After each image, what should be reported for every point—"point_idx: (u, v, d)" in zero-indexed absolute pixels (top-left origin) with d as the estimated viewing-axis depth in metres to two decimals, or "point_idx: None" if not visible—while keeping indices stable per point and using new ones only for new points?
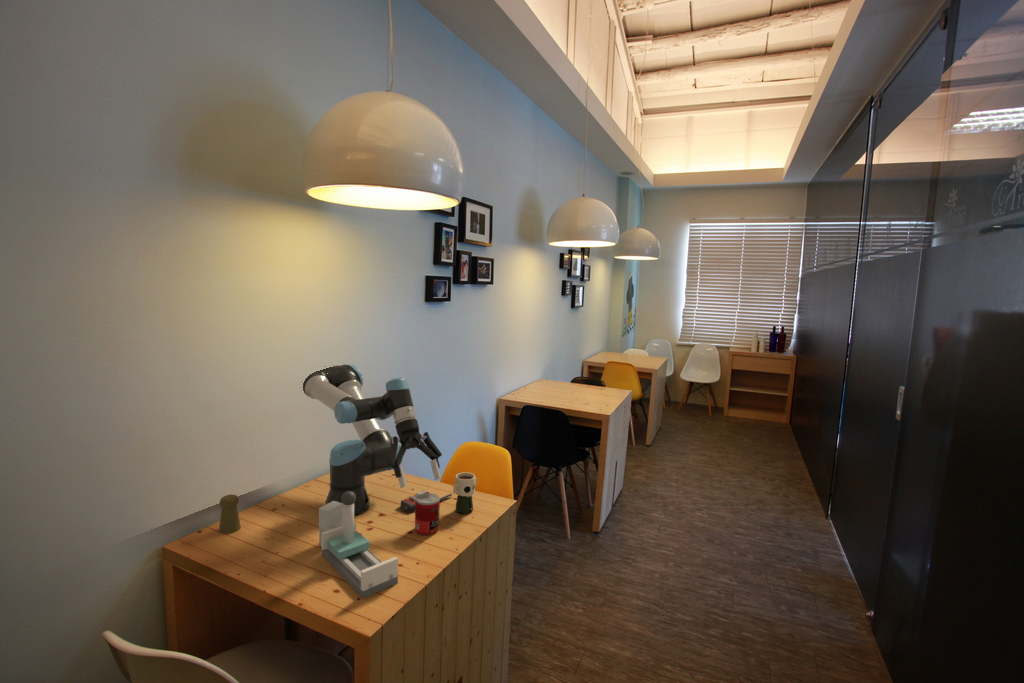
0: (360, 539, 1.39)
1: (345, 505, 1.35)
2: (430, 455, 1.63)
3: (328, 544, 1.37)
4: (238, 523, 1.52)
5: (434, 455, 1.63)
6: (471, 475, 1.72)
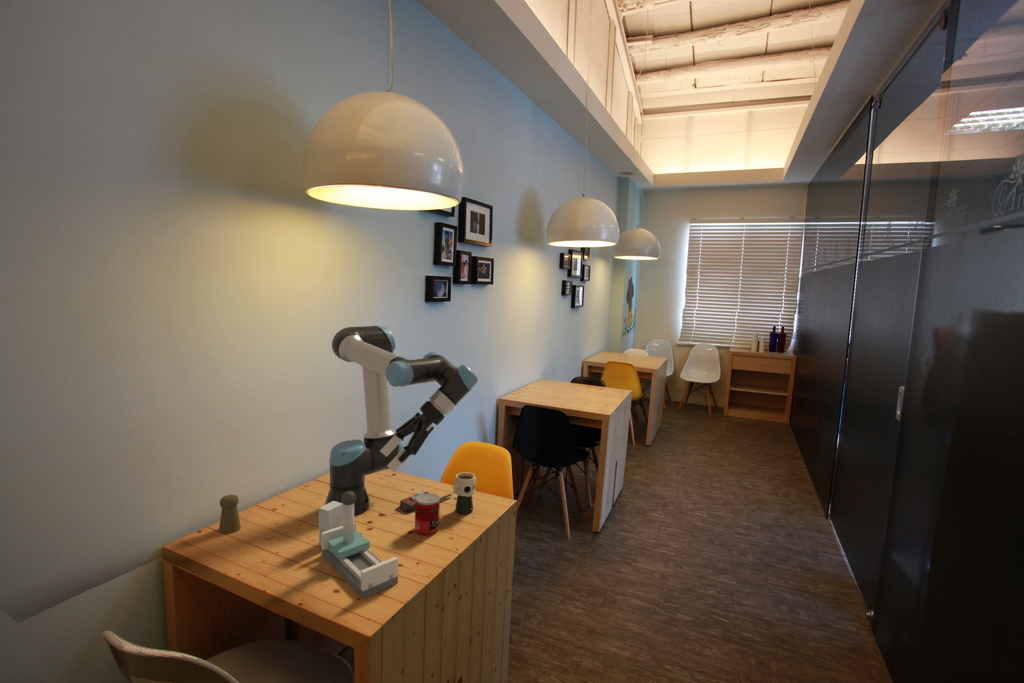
0: (360, 539, 1.39)
1: (345, 505, 1.35)
2: (403, 435, 1.48)
3: (328, 544, 1.37)
4: (238, 523, 1.52)
5: None
6: (471, 475, 1.72)
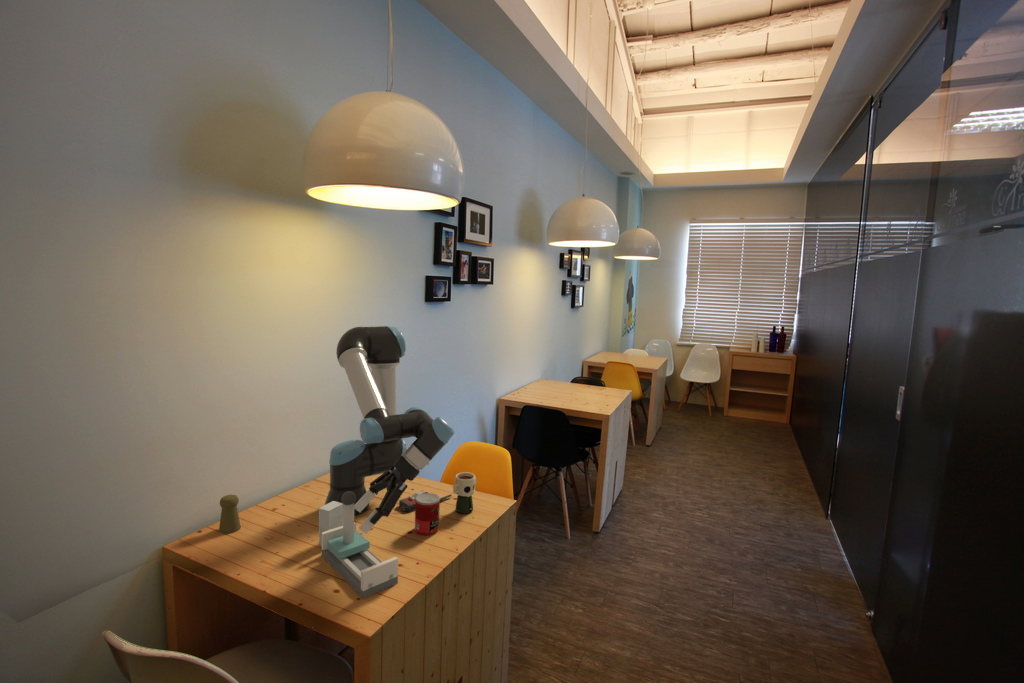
0: (360, 539, 1.39)
1: (345, 505, 1.35)
2: (377, 489, 1.44)
3: (328, 544, 1.37)
4: (238, 523, 1.52)
5: None
6: (471, 475, 1.72)
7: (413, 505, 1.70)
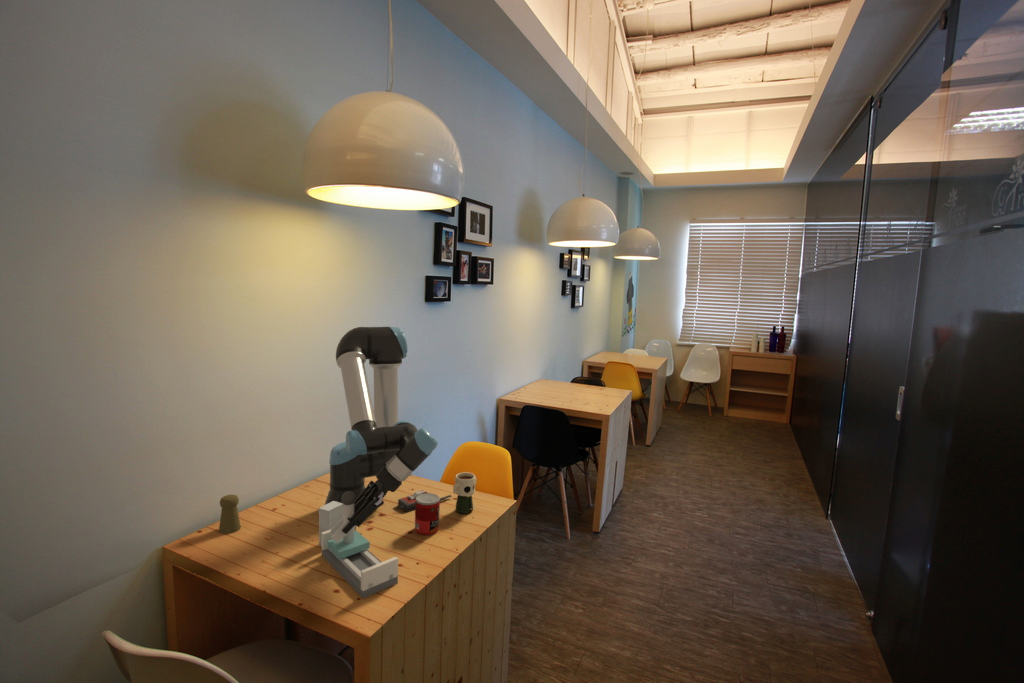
0: (360, 539, 1.39)
1: (345, 505, 1.35)
2: (357, 509, 1.39)
3: (328, 544, 1.37)
4: (238, 523, 1.52)
5: None
6: (471, 475, 1.72)
7: (411, 505, 1.70)
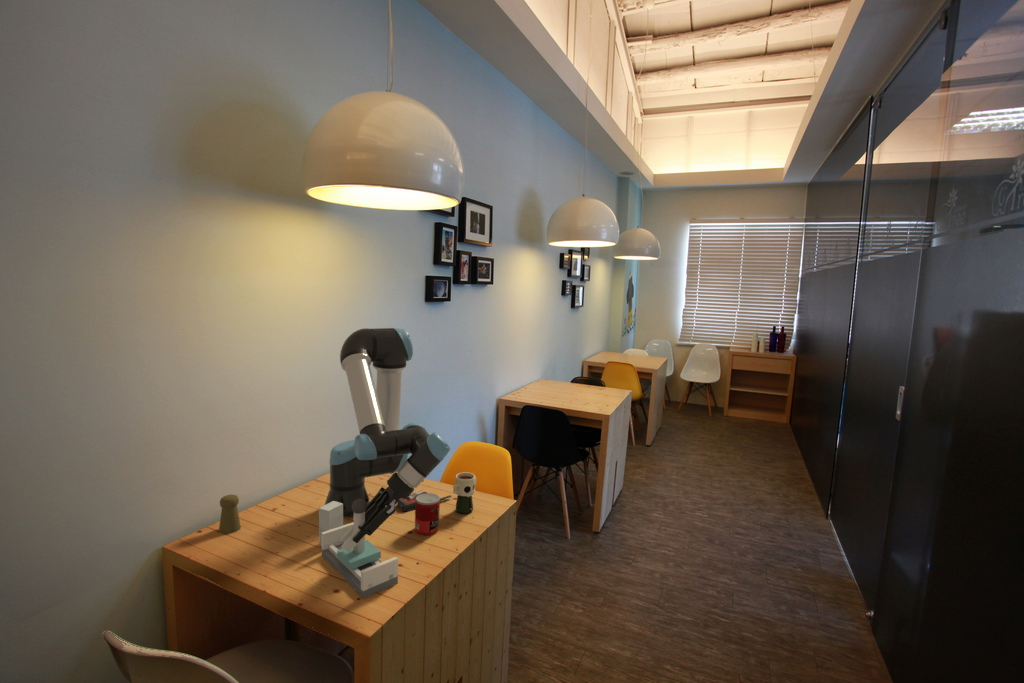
0: (371, 549, 1.34)
1: (356, 514, 1.30)
2: (368, 517, 1.35)
3: (338, 554, 1.32)
4: (238, 523, 1.52)
5: None
6: (471, 475, 1.72)
7: (410, 504, 1.70)
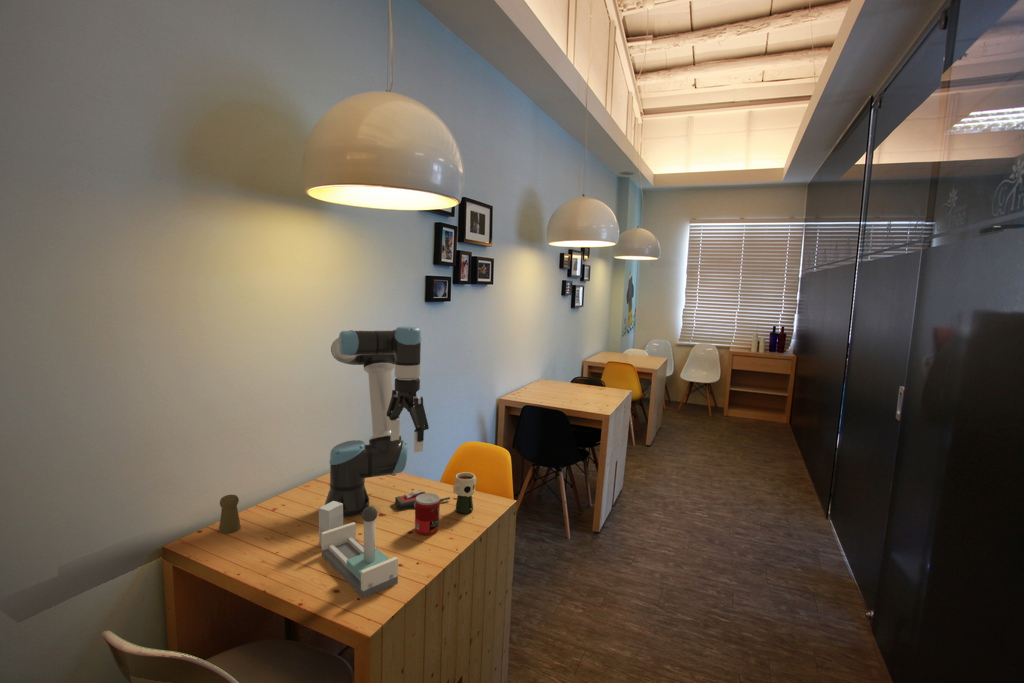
0: (382, 558, 1.30)
1: (366, 522, 1.26)
2: (397, 415, 1.50)
3: (347, 563, 1.28)
4: (238, 523, 1.52)
5: None
6: (471, 475, 1.72)
7: (406, 503, 1.71)
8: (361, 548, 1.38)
